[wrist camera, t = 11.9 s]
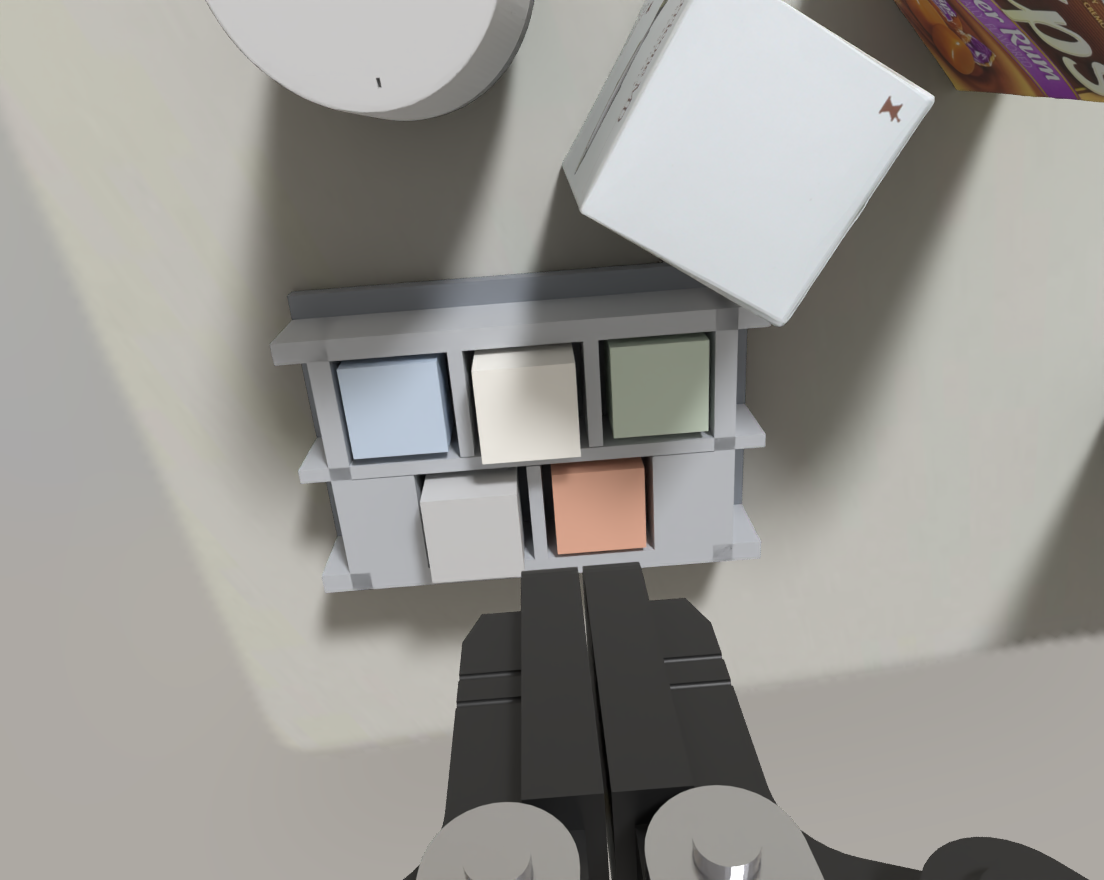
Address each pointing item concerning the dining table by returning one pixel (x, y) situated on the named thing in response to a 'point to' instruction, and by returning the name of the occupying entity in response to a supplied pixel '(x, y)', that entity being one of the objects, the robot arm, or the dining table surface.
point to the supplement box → (740, 145)
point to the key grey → (473, 524)
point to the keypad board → (458, 330)
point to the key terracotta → (599, 505)
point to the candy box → (1016, 45)
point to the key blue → (397, 405)
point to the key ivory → (526, 403)
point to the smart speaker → (379, 50)
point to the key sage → (657, 384)
